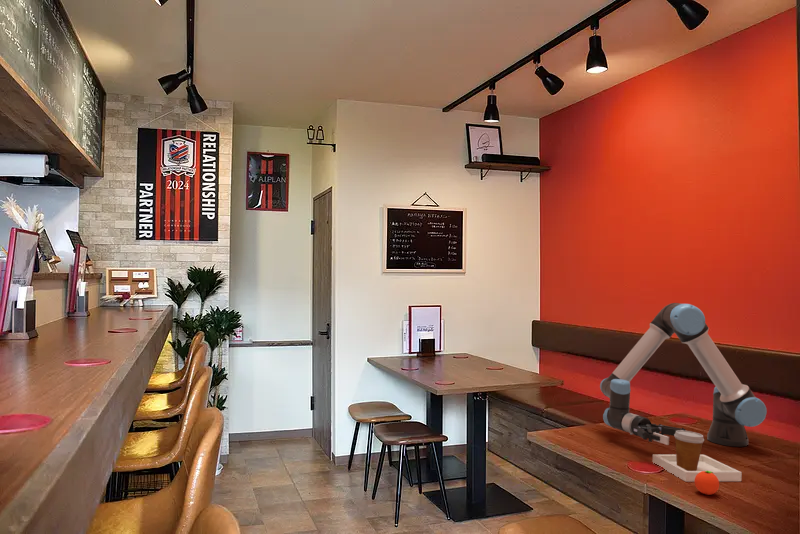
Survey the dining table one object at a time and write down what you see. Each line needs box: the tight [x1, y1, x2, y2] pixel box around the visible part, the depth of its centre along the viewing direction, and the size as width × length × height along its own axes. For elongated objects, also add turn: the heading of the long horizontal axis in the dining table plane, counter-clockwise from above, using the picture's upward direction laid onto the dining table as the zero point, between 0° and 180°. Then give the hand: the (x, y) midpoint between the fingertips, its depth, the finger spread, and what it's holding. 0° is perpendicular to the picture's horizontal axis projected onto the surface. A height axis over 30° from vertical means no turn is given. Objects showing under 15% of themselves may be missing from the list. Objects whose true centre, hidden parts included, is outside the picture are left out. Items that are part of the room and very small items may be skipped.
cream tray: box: [651, 454, 742, 483], centre depth 216 cm, size 20×20×3 cm
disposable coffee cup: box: [673, 430, 705, 471], centre depth 216 cm, size 10×10×12 cm
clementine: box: [694, 471, 720, 496], centre depth 194 cm, size 8×7×7 cm
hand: (682, 439), depth 221 cm, fingers open, 13 cm apart
